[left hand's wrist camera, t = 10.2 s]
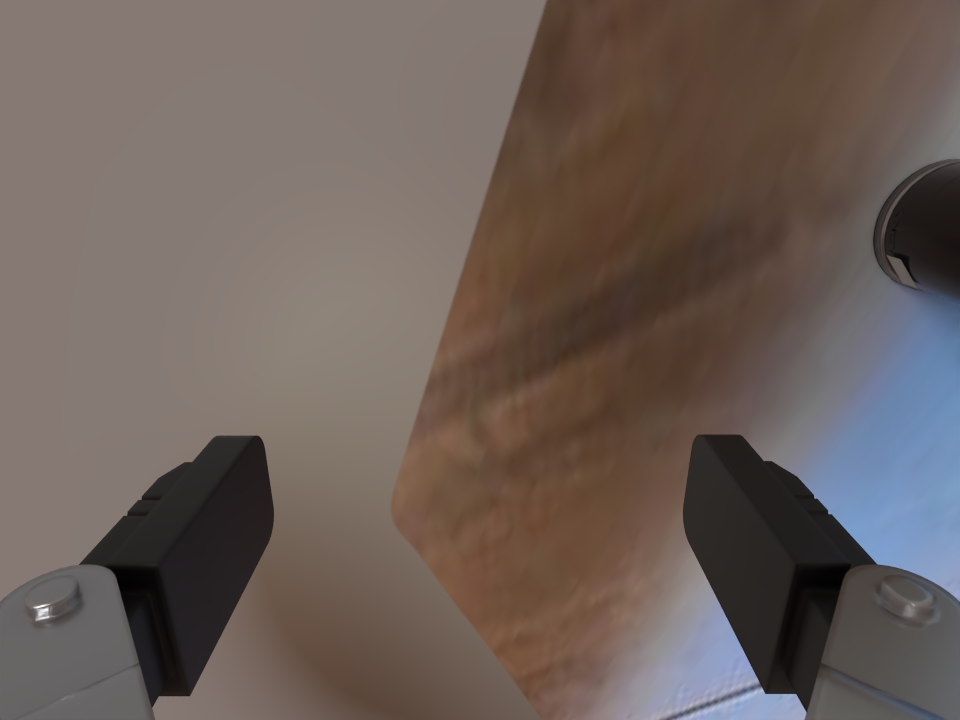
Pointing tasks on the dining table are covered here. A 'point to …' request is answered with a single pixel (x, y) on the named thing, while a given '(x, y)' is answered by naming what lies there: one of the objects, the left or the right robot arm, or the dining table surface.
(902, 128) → the dining table surface
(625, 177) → the dining table surface
